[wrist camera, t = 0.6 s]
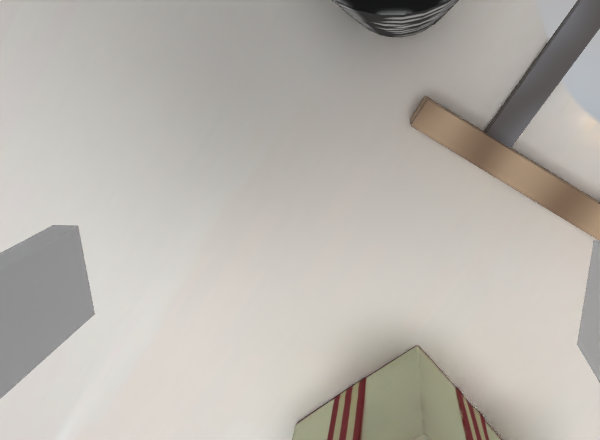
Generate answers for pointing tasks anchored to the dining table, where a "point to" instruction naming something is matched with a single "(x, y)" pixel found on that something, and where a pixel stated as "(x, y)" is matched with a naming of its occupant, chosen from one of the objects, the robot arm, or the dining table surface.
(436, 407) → the gift box
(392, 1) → the spotted tube
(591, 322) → the robot arm
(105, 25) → the dining table surface
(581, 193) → the cradle
